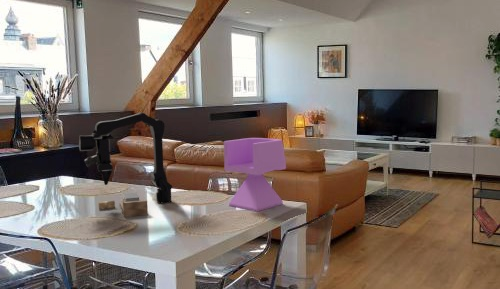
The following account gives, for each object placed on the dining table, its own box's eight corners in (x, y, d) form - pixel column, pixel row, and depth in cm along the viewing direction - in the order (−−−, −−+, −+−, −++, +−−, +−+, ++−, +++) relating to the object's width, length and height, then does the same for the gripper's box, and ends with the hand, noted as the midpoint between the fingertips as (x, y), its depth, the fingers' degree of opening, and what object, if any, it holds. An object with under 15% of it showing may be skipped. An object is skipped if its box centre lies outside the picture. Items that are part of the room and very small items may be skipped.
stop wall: (147, 213, 217) (146, 199, 217) (147, 214, 216) (147, 200, 215) (123, 215, 214) (122, 202, 214) (124, 216, 212) (123, 203, 212)
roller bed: (141, 203, 237) (140, 196, 237) (147, 213, 217) (146, 205, 217) (119, 205, 234) (119, 198, 234) (123, 216, 214) (123, 208, 213)
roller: (114, 208, 231) (114, 200, 231) (115, 208, 228) (114, 200, 228) (98, 209, 229) (98, 202, 229) (99, 209, 225) (98, 201, 226)
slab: (136, 196, 237) (136, 192, 236) (139, 201, 225) (139, 197, 225) (123, 197, 235) (123, 193, 234) (125, 202, 223) (125, 198, 223)
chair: (225, 206, 228) (223, 141, 225) (254, 198, 243) (253, 137, 239) (257, 212, 215) (256, 143, 211) (286, 204, 229) (285, 139, 226)
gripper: (84, 148, 232) (86, 181, 233) (85, 152, 214) (87, 188, 216) (109, 146, 235) (111, 179, 237) (111, 151, 218) (113, 186, 219)
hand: (105, 183), depth 227 cm, fingers open, 9 cm apart
